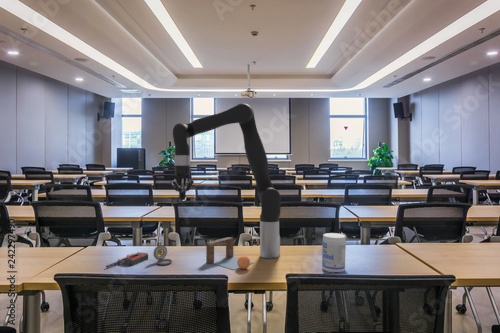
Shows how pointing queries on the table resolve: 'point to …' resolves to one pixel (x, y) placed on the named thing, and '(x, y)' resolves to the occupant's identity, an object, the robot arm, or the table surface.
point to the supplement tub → (333, 252)
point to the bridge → (211, 244)
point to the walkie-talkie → (131, 259)
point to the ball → (243, 262)
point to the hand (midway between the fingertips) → (182, 199)
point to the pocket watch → (160, 258)
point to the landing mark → (229, 263)
